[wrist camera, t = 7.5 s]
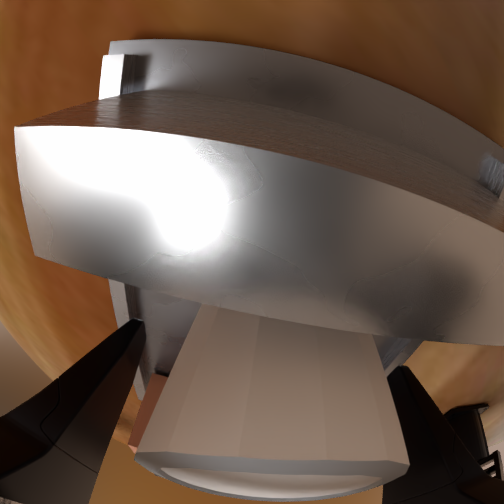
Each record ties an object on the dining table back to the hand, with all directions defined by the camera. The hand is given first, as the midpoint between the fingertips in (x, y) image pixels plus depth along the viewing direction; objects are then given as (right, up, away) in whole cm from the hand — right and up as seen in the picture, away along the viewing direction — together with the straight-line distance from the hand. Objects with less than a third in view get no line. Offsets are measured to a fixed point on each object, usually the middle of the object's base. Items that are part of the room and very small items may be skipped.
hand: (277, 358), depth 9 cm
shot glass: (0, +2, +2) cm, 3 cm away
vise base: (0, 0, +4) cm, 4 cm away
